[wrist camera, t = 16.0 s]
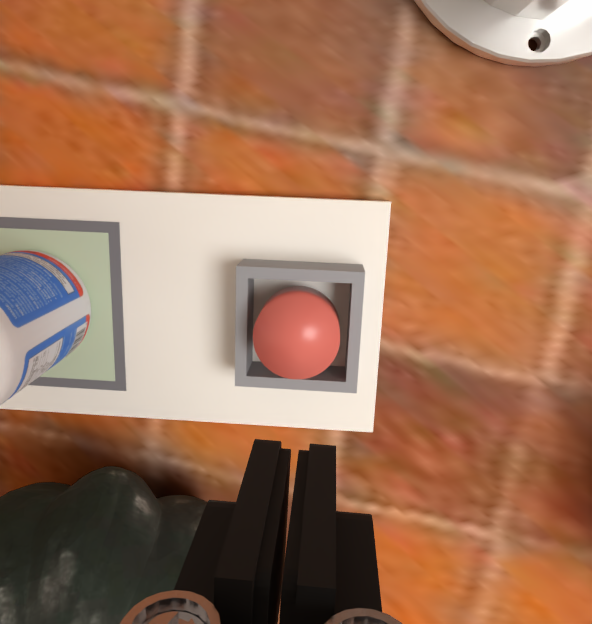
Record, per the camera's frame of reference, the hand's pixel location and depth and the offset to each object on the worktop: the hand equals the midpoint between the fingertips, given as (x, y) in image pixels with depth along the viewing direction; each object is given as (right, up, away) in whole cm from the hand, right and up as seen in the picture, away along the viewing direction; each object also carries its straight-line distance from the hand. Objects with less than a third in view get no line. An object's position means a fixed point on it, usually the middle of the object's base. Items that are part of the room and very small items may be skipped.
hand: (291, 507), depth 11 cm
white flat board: (-6, +4, +16) cm, 17 cm away
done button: (0, +3, +13) cm, 14 cm away
